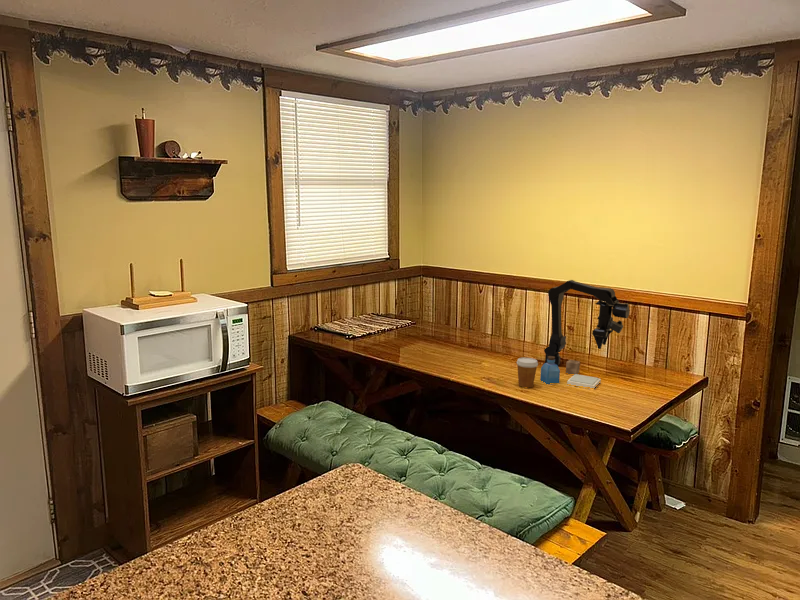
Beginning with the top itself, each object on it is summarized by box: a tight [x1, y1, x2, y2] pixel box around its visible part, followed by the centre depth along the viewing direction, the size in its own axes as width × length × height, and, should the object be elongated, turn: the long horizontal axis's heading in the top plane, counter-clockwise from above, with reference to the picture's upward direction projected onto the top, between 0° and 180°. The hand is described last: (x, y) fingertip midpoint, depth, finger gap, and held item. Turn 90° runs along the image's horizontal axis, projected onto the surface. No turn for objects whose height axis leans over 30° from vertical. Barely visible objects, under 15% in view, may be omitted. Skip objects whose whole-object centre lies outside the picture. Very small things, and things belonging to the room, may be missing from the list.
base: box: [566, 374, 602, 389], centre depth 282 cm, size 12×12×2 cm
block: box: [565, 359, 581, 375], centre depth 297 cm, size 5×5×6 cm
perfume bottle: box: [539, 356, 561, 385], centre depth 283 cm, size 6×6×12 cm
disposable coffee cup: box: [516, 357, 539, 388], centre depth 276 cm, size 10×10×12 cm
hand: (601, 346), depth 295 cm, fingers open, 9 cm apart
